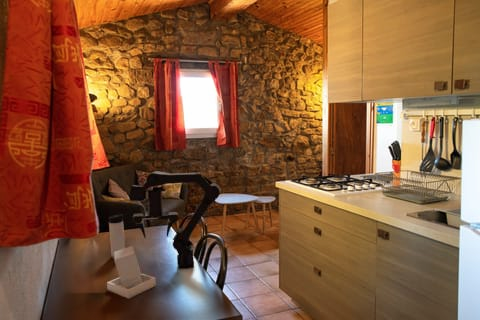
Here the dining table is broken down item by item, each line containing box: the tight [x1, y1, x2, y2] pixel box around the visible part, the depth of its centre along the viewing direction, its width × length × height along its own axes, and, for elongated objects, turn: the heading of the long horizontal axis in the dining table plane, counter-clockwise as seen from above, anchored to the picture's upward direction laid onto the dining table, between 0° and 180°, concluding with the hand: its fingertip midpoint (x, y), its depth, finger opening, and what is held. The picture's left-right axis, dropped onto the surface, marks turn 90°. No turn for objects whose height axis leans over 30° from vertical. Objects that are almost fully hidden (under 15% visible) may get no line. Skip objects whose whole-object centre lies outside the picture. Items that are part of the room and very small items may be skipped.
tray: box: [106, 272, 157, 299], centre depth 143 cm, size 13×13×3 cm
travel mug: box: [108, 213, 126, 259], centre depth 176 cm, size 6×7×20 cm
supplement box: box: [113, 245, 142, 288], centre depth 142 cm, size 7×7×13 cm
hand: (156, 237), depth 162 cm, fingers open, 9 cm apart
